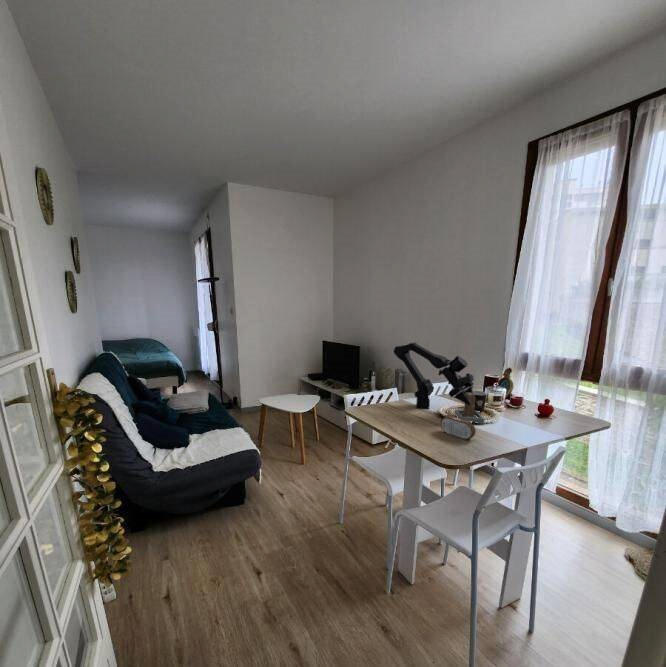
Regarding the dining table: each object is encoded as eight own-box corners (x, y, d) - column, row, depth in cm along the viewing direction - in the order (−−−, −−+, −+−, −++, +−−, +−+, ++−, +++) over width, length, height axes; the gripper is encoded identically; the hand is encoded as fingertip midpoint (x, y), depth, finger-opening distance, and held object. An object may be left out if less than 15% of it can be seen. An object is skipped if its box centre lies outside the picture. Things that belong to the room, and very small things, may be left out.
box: (460, 423, 158) (460, 417, 157) (455, 415, 168) (455, 409, 168) (483, 424, 156) (484, 418, 156) (476, 416, 167) (477, 410, 167)
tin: (475, 440, 138) (476, 422, 137) (472, 443, 136) (473, 424, 135) (442, 430, 149) (443, 412, 148) (439, 432, 147) (440, 414, 146)
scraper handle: (466, 420, 159) (468, 395, 158) (461, 416, 164) (463, 392, 163) (476, 420, 160) (477, 394, 159) (470, 416, 165) (472, 392, 164)
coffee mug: (486, 409, 177) (487, 392, 176) (484, 414, 170) (485, 396, 169) (464, 405, 183) (465, 388, 182) (461, 410, 176) (462, 392, 175)
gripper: (456, 371, 155) (478, 398, 149) (471, 365, 169) (491, 390, 162) (440, 384, 162) (460, 410, 155) (455, 377, 175) (474, 401, 169)
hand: (472, 402), depth 160 cm, fingers open, 8 cm apart
